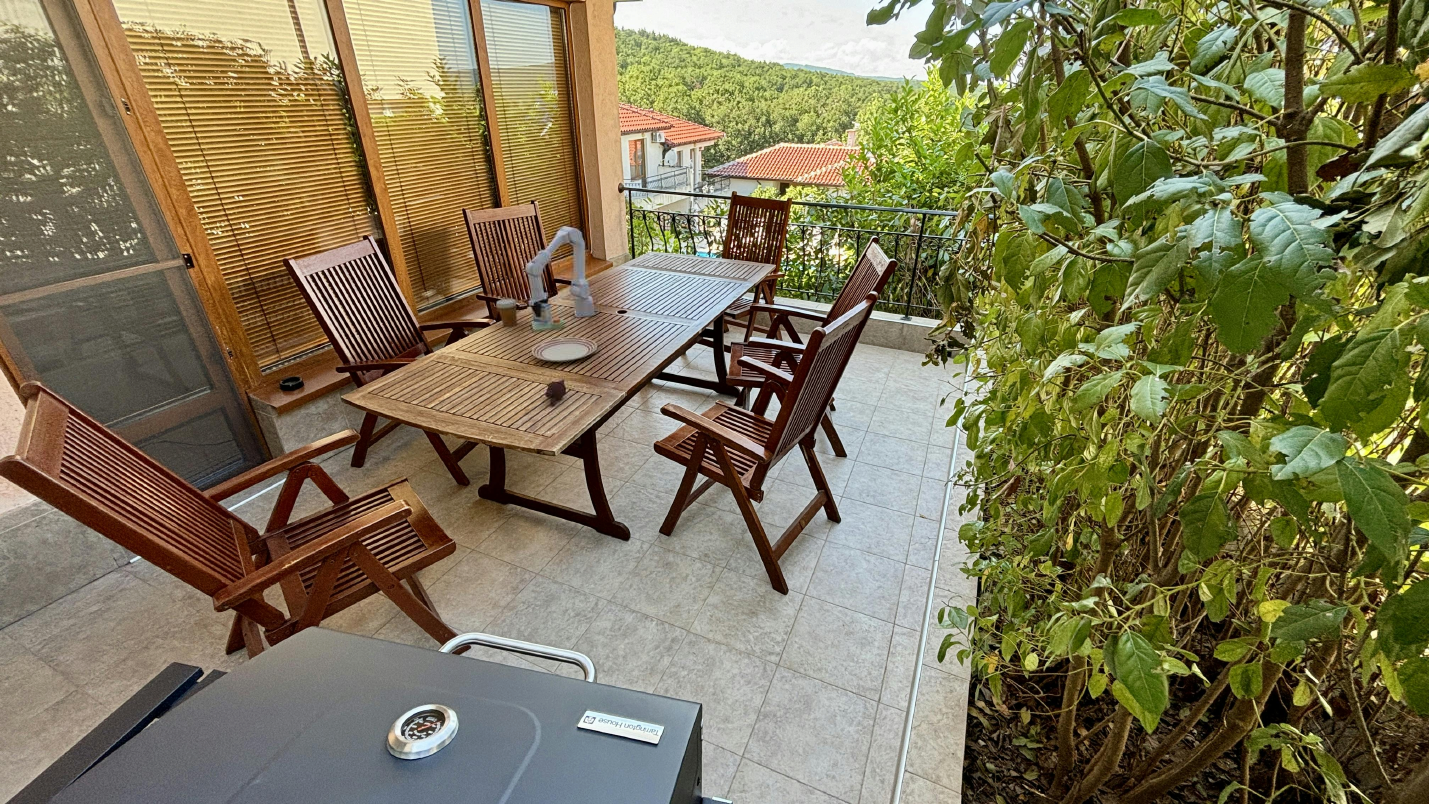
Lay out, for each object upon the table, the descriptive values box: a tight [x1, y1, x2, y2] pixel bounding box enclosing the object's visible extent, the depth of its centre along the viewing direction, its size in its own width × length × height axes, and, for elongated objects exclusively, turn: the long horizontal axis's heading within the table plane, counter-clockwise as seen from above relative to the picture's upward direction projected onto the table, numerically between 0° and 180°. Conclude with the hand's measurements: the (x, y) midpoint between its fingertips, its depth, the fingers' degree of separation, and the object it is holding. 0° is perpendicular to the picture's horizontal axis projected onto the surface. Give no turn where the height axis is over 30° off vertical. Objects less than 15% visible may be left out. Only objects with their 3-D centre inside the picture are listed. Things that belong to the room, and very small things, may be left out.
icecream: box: [544, 379, 567, 407], centre depth 220 cm, size 7×7×15 cm
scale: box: [530, 318, 564, 333], centre depth 291 cm, size 15×13×3 cm
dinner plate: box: [531, 336, 598, 363], centre depth 258 cm, size 27×27×3 cm
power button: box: [552, 317, 561, 323], centre depth 288 cm, size 3×3×2 cm
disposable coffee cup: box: [495, 298, 518, 328], centre depth 292 cm, size 10×10×12 cm
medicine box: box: [531, 303, 553, 323], centre depth 288 cm, size 8×4×9 cm, turn 73°
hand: (541, 315), depth 289 cm, fingers closed on medicine box, 4 cm apart
